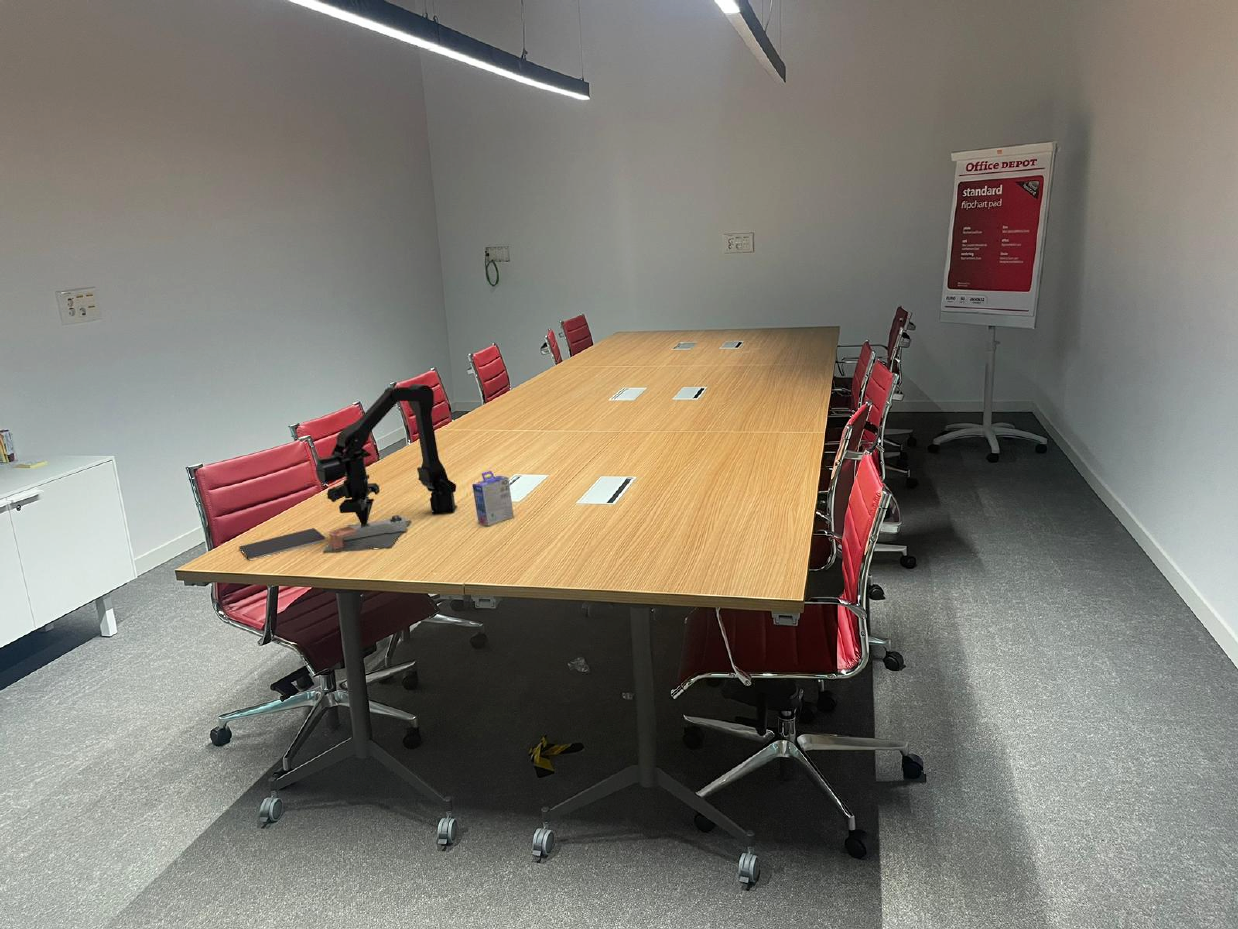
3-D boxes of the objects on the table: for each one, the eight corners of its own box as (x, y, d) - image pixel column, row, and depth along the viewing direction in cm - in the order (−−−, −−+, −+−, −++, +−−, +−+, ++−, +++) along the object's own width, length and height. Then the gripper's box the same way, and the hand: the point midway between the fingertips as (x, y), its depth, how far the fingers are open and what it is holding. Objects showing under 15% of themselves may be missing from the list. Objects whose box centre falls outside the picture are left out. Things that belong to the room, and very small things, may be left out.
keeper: (351, 542, 255) (348, 526, 254) (359, 546, 251) (357, 530, 250) (329, 548, 251) (326, 532, 250) (338, 553, 247) (335, 536, 246)
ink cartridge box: (503, 514, 269) (497, 467, 265) (515, 517, 265) (509, 469, 261) (476, 523, 262) (470, 475, 258) (488, 526, 258) (481, 478, 254)
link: (405, 524, 264) (404, 515, 263) (407, 529, 259) (406, 520, 258) (341, 536, 259) (339, 527, 258) (342, 541, 254) (340, 532, 253)
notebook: (314, 532, 269) (240, 551, 258) (313, 527, 268) (238, 546, 257) (327, 543, 258) (249, 563, 247) (326, 537, 258) (248, 557, 247)
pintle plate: (411, 522, 269) (409, 507, 267) (391, 548, 247) (388, 532, 246) (349, 526, 270) (346, 512, 268) (323, 553, 248) (320, 537, 247)
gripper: (338, 466, 265) (347, 516, 269) (316, 486, 247) (326, 539, 251) (376, 464, 265) (384, 514, 269) (356, 483, 247) (365, 537, 251)
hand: (364, 526), depth 260 cm, fingers closed
